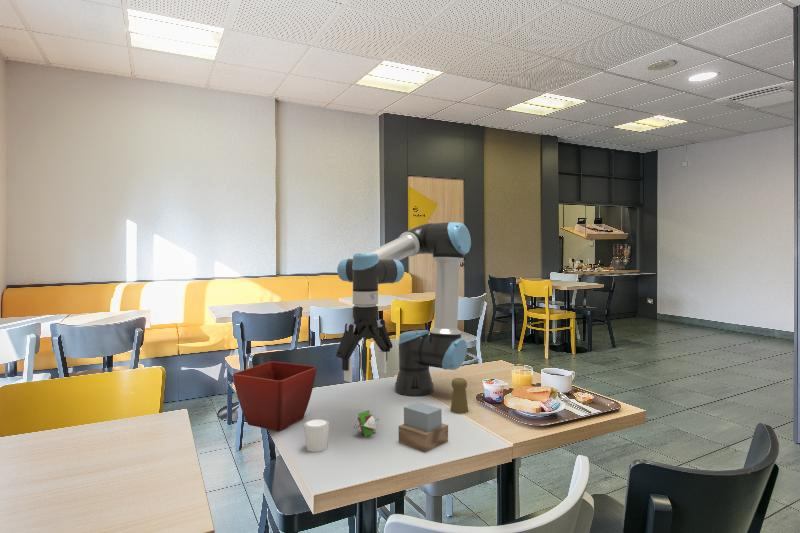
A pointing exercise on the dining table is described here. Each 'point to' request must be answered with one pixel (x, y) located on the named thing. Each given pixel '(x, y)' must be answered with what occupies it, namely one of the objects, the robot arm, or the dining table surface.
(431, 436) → the tower base block
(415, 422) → the tower top block
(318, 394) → the dining table surface
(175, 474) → the dining table surface
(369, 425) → the geometric puzzle
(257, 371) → the plant pot
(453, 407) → the cork
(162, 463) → the dining table surface
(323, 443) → the white cup
